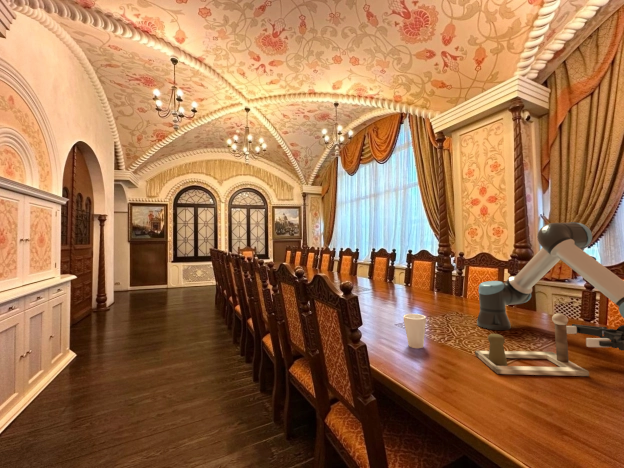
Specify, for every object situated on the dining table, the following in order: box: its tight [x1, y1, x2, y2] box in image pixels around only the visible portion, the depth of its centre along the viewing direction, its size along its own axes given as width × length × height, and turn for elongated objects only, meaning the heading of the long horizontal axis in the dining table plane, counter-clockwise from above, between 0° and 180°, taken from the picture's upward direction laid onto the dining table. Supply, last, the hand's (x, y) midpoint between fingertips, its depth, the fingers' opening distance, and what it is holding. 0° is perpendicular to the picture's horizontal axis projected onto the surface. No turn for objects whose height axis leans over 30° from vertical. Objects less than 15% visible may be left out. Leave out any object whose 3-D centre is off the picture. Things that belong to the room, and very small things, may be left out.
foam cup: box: [403, 313, 427, 349], centre depth 126 cm, size 10×9×13 cm
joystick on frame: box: [474, 312, 590, 377], centre depth 103 cm, size 28×17×18 cm, turn 83°
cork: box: [487, 333, 508, 366], centre depth 104 cm, size 6×6×11 cm
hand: (570, 335), depth 101 cm, fingers open, 13 cm apart
